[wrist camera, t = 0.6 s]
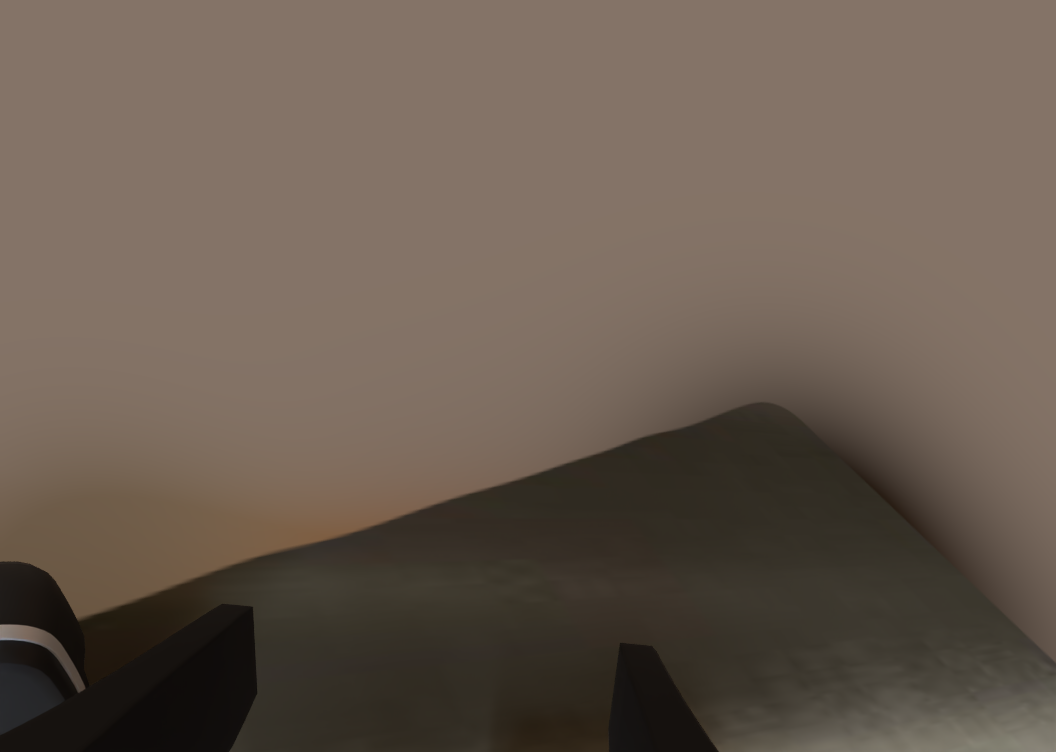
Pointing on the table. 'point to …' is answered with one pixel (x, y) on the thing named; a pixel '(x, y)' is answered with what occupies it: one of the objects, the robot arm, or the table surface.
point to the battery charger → (36, 645)
